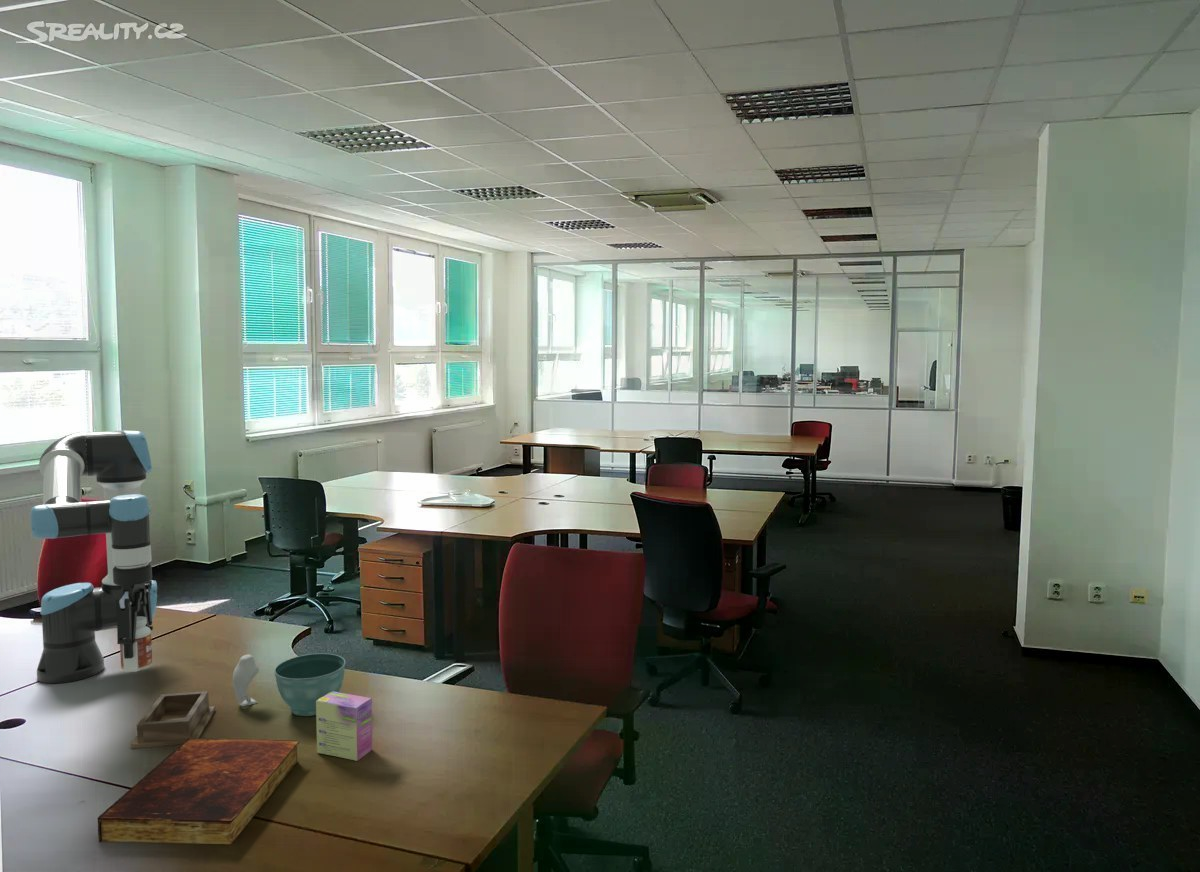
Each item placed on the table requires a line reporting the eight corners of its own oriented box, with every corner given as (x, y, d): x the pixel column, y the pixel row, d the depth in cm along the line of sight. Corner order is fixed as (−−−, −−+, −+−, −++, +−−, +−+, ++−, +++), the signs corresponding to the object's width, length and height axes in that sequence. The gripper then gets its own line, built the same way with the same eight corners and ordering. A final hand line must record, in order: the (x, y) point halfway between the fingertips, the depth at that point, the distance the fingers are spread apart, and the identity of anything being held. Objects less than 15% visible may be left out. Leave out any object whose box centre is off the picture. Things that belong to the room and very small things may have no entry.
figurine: (228, 702, 198) (227, 655, 197) (250, 696, 202) (248, 649, 201) (242, 711, 193) (240, 663, 192) (263, 704, 197) (262, 657, 196)
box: (373, 749, 175) (372, 697, 174) (357, 761, 169) (356, 707, 168) (333, 741, 178) (332, 690, 177) (316, 753, 173) (314, 700, 172)
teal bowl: (277, 728, 184) (275, 682, 183) (274, 701, 199) (273, 658, 198) (350, 716, 191) (349, 672, 190) (342, 690, 206) (341, 649, 205)
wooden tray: (156, 714, 191) (155, 694, 190) (215, 710, 194) (214, 690, 193) (130, 748, 174) (129, 726, 174) (195, 742, 177) (194, 721, 177)
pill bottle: (153, 669, 180) (151, 620, 179) (121, 674, 177) (118, 625, 176) (151, 660, 185) (149, 613, 184) (120, 665, 182) (118, 617, 181)
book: (188, 761, 170) (187, 738, 170) (300, 763, 170) (300, 740, 169) (97, 844, 141) (96, 817, 140) (233, 847, 140) (232, 820, 140)
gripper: (130, 555, 188) (135, 651, 190) (95, 576, 169) (100, 683, 171) (165, 554, 189) (169, 649, 191) (134, 574, 170) (139, 680, 172)
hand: (137, 665), depth 181 cm, fingers closed on pill bottle, 6 cm apart
